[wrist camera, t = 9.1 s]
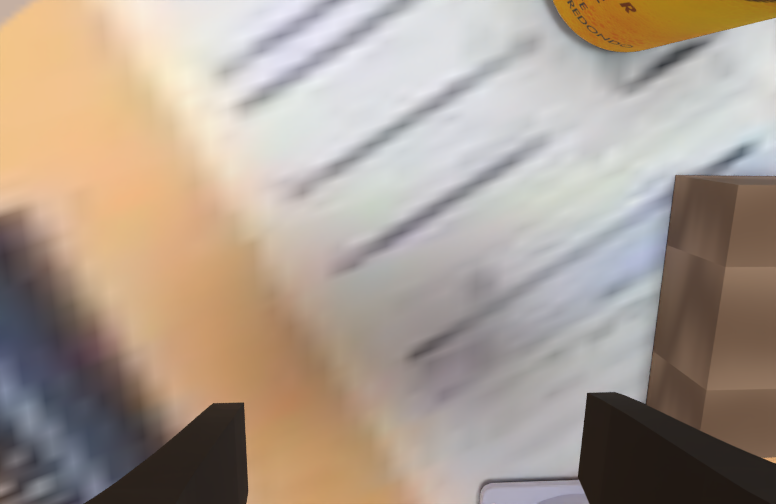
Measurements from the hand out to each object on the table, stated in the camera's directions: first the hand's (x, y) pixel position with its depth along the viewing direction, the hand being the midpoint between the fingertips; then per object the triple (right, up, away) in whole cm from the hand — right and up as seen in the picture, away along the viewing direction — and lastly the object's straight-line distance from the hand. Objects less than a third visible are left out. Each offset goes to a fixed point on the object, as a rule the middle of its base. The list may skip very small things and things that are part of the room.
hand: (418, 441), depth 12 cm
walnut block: (+15, +2, +11) cm, 19 cm away
